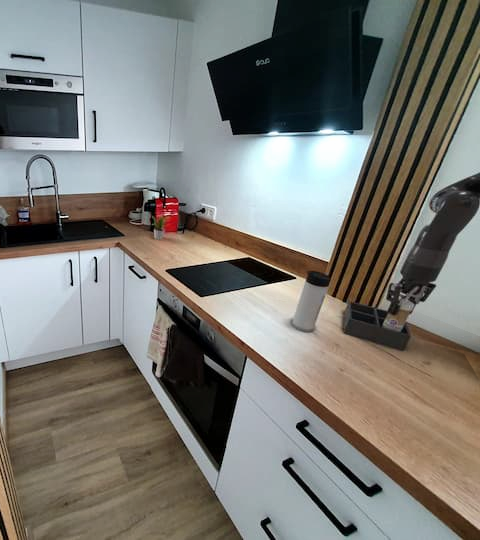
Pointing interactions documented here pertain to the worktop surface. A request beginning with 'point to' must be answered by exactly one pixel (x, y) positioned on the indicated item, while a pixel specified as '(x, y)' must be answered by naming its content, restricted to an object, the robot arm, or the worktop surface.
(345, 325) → the box
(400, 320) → the sprinkles bottle
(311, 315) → the travel mug
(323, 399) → the worktop surface
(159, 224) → the house plant
